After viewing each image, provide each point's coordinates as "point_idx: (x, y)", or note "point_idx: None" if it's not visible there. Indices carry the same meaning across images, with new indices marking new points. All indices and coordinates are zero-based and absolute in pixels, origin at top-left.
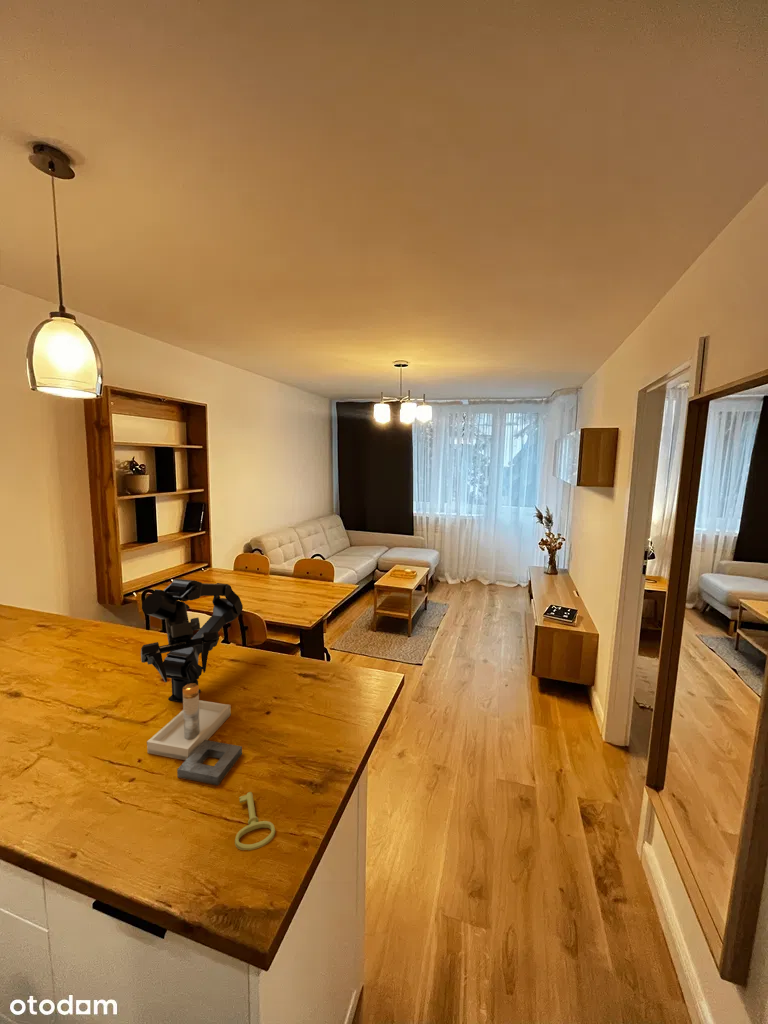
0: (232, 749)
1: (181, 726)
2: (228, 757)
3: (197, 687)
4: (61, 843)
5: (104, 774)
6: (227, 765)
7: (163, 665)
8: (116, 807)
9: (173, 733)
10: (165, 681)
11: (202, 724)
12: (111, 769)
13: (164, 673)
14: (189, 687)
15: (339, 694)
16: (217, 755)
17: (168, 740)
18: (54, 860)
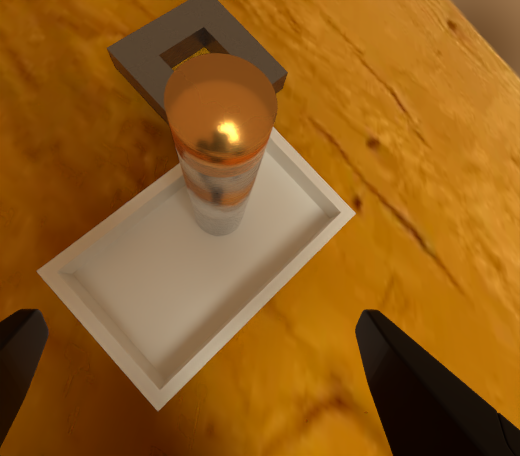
0: (136, 53)
1: (239, 279)
2: (159, 32)
3: (179, 71)
4: (473, 60)
5: (429, 200)
6: (171, 11)
7: (485, 447)
8: (399, 83)
9: (268, 255)
10: (373, 311)
11: (174, 249)
12: (417, 209)
13: (415, 356)
14: (230, 100)
15: None
16: None
17: (287, 227)
18: (475, 34)
